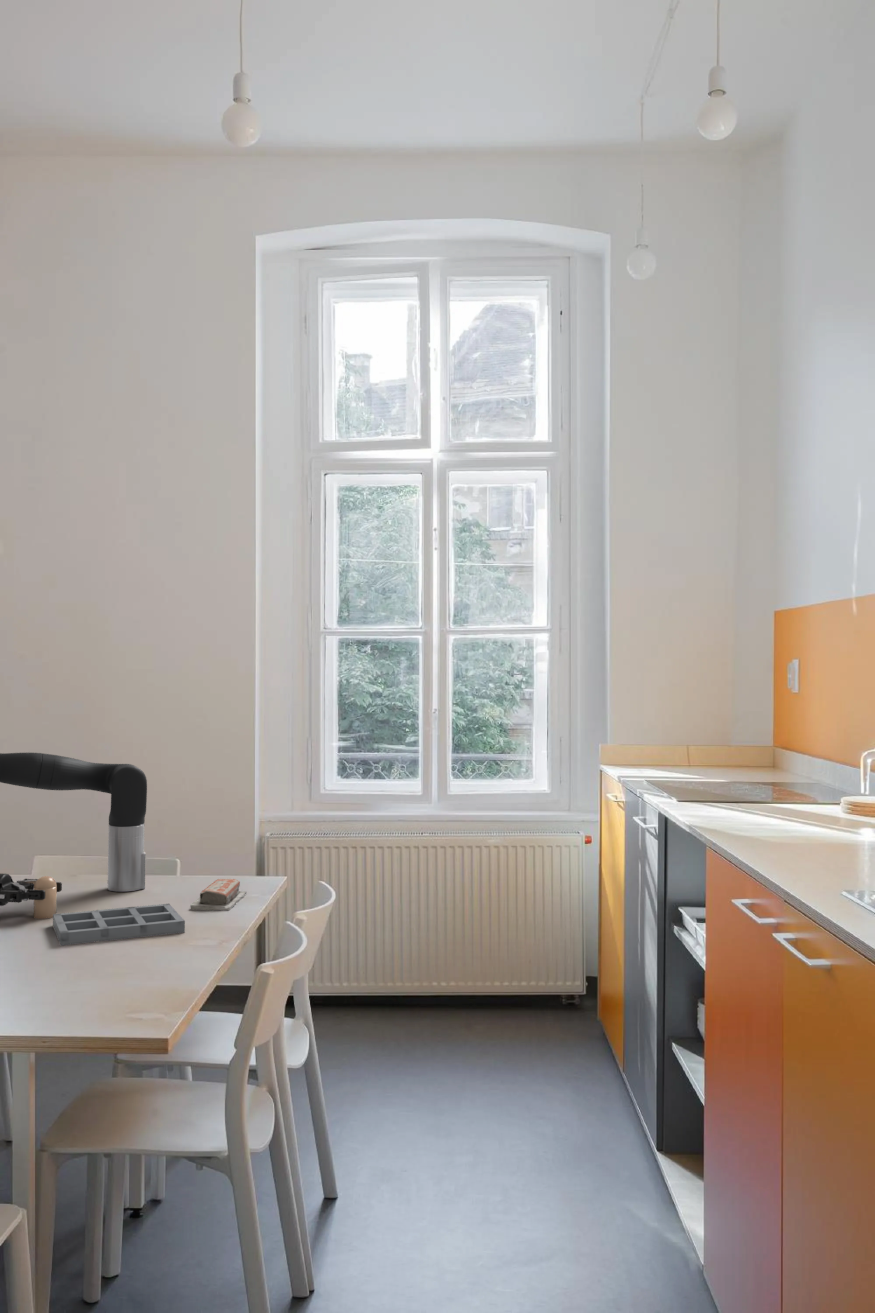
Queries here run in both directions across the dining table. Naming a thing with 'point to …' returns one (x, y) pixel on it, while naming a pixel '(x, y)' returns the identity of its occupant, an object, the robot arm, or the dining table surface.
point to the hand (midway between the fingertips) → (53, 891)
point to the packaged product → (219, 895)
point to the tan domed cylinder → (48, 905)
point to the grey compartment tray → (117, 924)
